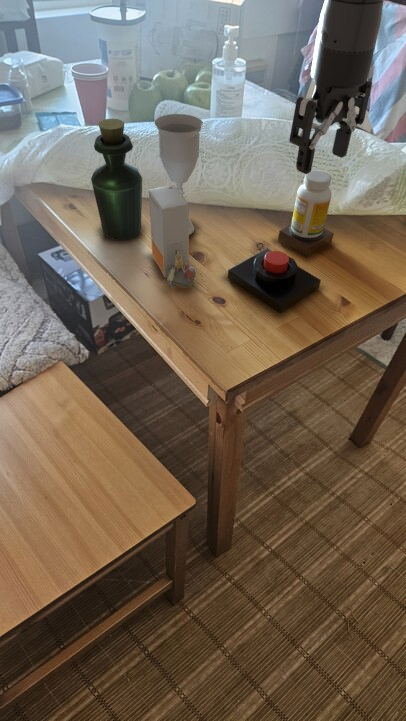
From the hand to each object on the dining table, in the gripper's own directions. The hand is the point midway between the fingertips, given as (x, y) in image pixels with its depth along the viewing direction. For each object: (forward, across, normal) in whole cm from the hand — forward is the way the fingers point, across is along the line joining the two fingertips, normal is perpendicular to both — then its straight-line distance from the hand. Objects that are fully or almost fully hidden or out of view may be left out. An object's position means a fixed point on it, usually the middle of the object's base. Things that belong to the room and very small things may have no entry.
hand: (321, 163), depth 76 cm
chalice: (+14, -14, +17) cm, 26 cm away
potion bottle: (+14, -22, +23) cm, 35 cm away
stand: (+14, 0, 0) cm, 14 cm away
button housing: (+14, -13, -4) cm, 19 cm away
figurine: (+14, -24, +5) cm, 28 cm away
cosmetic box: (+14, -22, +10) cm, 28 cm away
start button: (+11, -13, -4) cm, 17 cm away
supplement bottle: (+12, 0, 0) cm, 12 cm away
